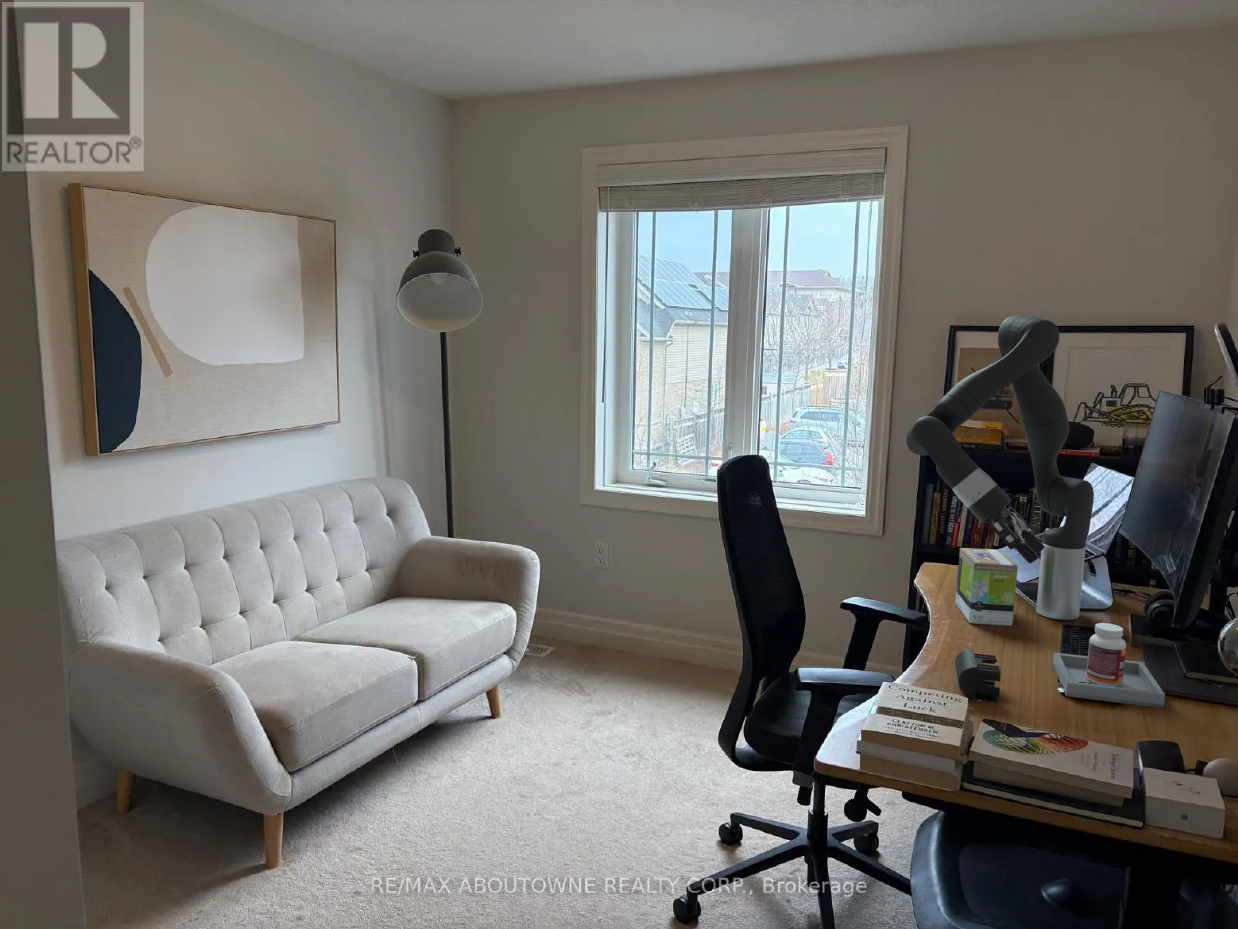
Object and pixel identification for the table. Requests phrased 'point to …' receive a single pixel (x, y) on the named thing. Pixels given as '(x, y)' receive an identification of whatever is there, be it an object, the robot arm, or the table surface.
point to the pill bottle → (1106, 655)
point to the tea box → (986, 586)
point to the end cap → (978, 675)
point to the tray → (1133, 689)
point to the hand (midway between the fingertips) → (1037, 555)
